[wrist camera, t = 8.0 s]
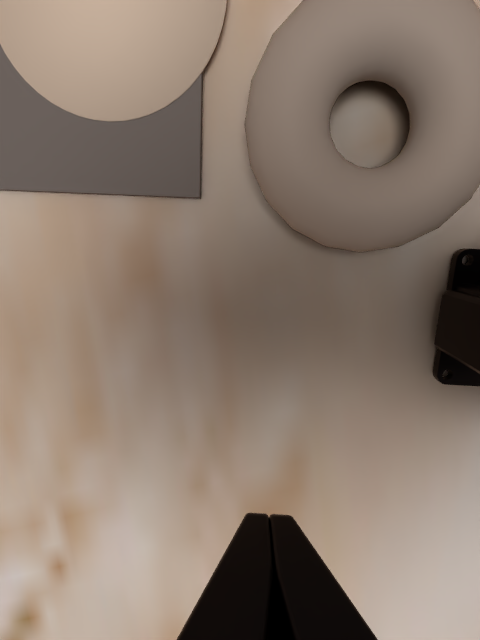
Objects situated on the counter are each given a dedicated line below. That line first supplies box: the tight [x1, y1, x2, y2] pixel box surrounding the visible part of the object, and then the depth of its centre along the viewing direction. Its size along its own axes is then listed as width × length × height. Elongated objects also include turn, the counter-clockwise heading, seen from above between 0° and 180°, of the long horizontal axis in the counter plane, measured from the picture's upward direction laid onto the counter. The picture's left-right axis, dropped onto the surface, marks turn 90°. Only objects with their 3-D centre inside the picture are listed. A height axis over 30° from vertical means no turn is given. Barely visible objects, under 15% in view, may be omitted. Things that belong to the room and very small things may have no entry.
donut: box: [245, 0, 480, 252], centre depth 15 cm, size 10×3×10 cm
